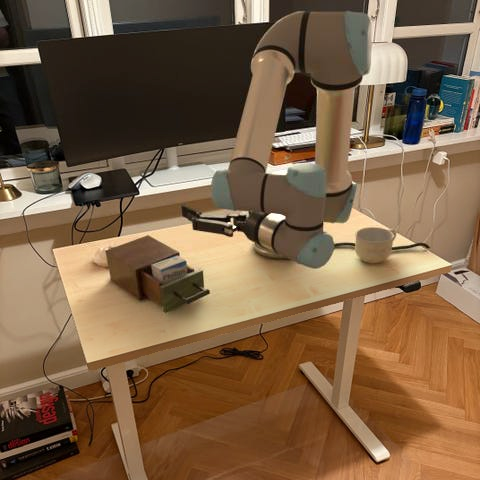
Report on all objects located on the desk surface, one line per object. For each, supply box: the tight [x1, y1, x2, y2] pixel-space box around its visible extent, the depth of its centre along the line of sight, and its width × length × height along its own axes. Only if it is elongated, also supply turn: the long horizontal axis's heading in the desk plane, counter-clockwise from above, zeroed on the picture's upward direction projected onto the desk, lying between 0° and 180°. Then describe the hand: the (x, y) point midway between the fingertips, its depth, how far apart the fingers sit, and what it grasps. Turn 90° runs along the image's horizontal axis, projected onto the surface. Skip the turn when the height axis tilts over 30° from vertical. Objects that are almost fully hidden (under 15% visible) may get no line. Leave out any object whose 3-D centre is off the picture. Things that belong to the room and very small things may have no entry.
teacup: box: [354, 227, 397, 264], centre depth 143 cm, size 14×11×8 cm
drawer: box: [139, 264, 211, 314], centre depth 125 cm, size 20×13×7 cm, turn 43°
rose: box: [93, 245, 117, 268], centre depth 145 cm, size 10×4×10 cm
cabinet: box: [105, 234, 181, 302], centre depth 133 cm, size 15×14×9 cm
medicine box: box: [151, 255, 188, 285], centre depth 125 cm, size 8×4×9 cm, turn 129°
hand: (205, 202), depth 118 cm, fingers open, 13 cm apart
